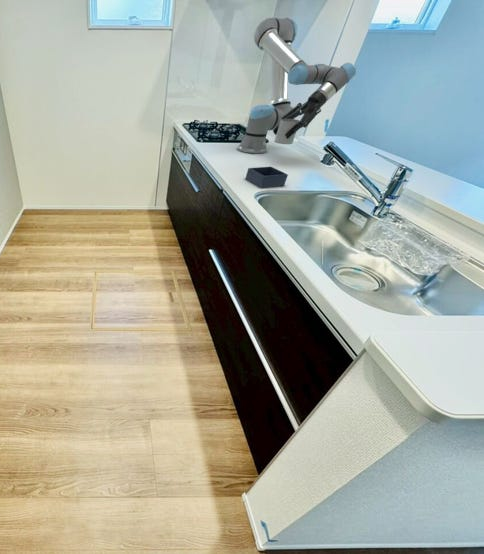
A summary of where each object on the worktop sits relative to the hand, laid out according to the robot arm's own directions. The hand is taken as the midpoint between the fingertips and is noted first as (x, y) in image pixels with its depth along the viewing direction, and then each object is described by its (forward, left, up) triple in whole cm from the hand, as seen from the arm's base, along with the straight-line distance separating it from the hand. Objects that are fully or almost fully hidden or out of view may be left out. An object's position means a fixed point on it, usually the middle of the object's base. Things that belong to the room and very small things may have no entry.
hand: (280, 134), depth 148 cm
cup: (0, +3, -4) cm, 5 cm away
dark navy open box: (+24, -21, -14) cm, 35 cm away
